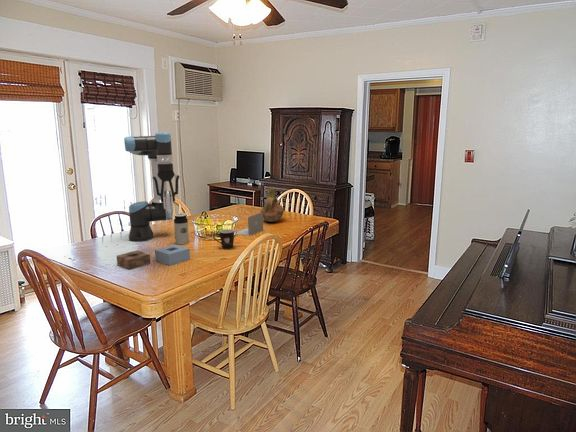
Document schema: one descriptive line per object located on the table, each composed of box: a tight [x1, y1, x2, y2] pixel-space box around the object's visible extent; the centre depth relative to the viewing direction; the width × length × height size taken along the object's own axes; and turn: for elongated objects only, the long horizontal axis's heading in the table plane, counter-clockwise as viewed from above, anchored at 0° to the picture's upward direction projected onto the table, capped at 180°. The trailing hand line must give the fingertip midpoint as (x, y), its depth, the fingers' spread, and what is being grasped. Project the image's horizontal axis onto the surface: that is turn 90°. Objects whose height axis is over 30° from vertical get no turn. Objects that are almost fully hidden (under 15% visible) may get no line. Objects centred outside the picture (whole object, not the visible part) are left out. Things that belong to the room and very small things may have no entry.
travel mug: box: [173, 212, 190, 246], centre depth 252 cm, size 8×8×18 cm
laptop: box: [235, 211, 264, 237], centre depth 278 cm, size 18×12×13 cm
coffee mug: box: [212, 228, 235, 250], centre depth 243 cm, size 12×9×10 cm
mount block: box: [116, 250, 151, 271], centre depth 216 cm, size 12×12×5 cm
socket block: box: [154, 243, 191, 266], centre depth 222 cm, size 13×13×6 cm
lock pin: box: [164, 190, 174, 221], centre depth 216 cm, size 3×3×15 cm
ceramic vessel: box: [259, 187, 285, 223], centre depth 306 cm, size 17×26×25 cm, turn 172°
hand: (168, 208), depth 216 cm, fingers closed on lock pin, 3 cm apart
